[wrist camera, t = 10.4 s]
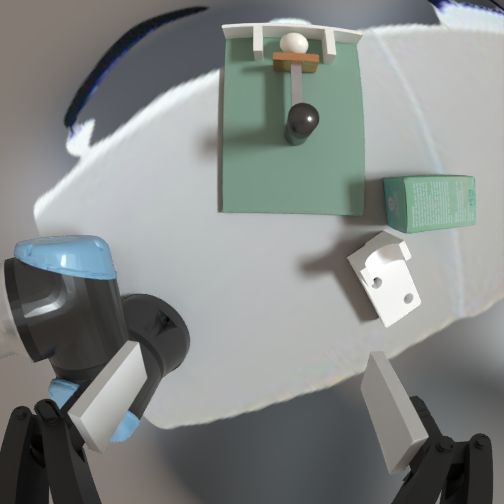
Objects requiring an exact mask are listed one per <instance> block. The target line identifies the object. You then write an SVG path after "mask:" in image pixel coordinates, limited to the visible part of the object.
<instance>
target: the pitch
mask: <svg viewBox="0 0 504 504" xmlns="http://www.w3.org/2000/svg"><path fill="white" fill-rule="evenodd" d="M222 29H223V32H224V35H225V37H226V49H225V74H224V109H223V212H266V213H306V214H332V215H352V216H363V213H364V189H365V137H364V114H363V99H362V87H361V77H360V68H359V59H358V52H357V43H358V42H359V40H360V39H361V37H362V35H363V34H362V32H359V31H353V30H347V29H340V28H333V27H326V26H316V25H306V24H289V23H247V24H231V25H222ZM288 33H299V34H301V35H303V36H304V37H305V38H306V40H307V42H308V49H307V51H306V53H305V54H317V55H319V64H318V67H317V69H316V72H315V73H310V72H302V92H303V103H308V104H310V105H312V106H313V107H315V108H316V110H317V111H318V113H319V118H320V119H319V123H318V125H317V127H316V128H315V129H314V131H313V132H312V133H311V135H310V136H309V137H308V139H307V140H306V141H305V142H304V143H303V144H302V145H299V146H294V145H291V144H289V143H288V142H287V141H286V139H285V137H284V131H285V127H286V122H287V118H288V113H289V110H290V109H291V79H290V71H273V52H283V51H282V50H281V48H280V40H281V38H282V37H283V36H284V35H286V34H288Z"/></svg>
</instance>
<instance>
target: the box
mask: <svg viewBox="0 0 504 504" xmlns="http://www.w3.org/2000/svg"><path fill="white" fill-rule="evenodd" d="M383 182H384V191H385V200H386V212H387V224H388V226H390V227H391V228H393V229H396V230H398V231H400V232H403V233H409V234H411V233H417V232H424V231H431V230H439V229H448V228H457V227H466V226H472V225H476V200H475V179H474V177H472V176H465V175H423V176H403V177H389V178H384V179H383Z"/></svg>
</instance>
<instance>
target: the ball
mask: <svg viewBox="0 0 504 504" xmlns="http://www.w3.org/2000/svg"><path fill="white" fill-rule="evenodd" d="M280 48H281V50H282V51H283V52H285V53H306V51H307V49H308V42H307V40H306V38H305V37H304V36H303V35H301V34H299V33H288V34H286V35H284V36H283V37H282V38H281V40H280Z"/></svg>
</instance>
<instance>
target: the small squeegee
mask: <svg viewBox="0 0 504 504" xmlns="http://www.w3.org/2000/svg"><path fill="white" fill-rule="evenodd" d="M318 64H319V55H317V54H305V53H285V52H273V71H290V79H291V109H290V110H289V113H288V118H287V122H286V127H285V131H284V137H285V139H286V141H287V142H288V143H289V144H291V145H294V146H299V145H302V144H303V143H304V142H305V141H306V140H307V139H308V137H309V136H310V135H311V133H312V132H313V131H314V129H315V128H316V127H317V125H318V123H319V119H320V118H319V113H318V111H317V110H316V108H315V107H313V106H312V105H310V104H308V103H303V92H302V72H310V73H315V72H316V69H317V67H318Z"/></svg>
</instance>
